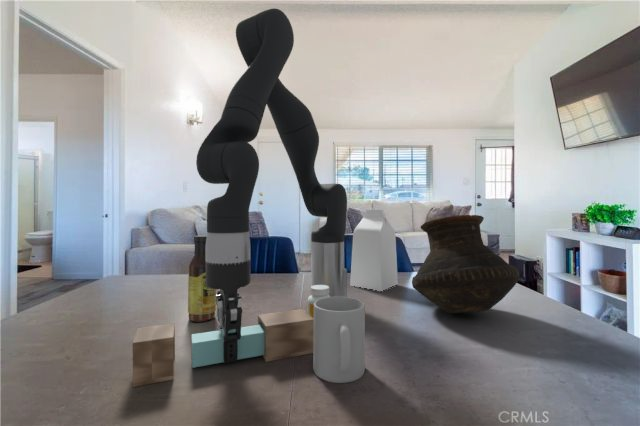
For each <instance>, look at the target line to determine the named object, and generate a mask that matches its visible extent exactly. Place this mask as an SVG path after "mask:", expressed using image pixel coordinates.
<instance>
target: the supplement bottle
mask: <svg viewBox="0 0 640 426" xmlns="http://www.w3.org/2000/svg"><path fill="white" fill-rule="evenodd" d="M311 294H312V295H311ZM328 294H329V286H326V285H314V286H311V285H310V295H309V296H308V298H307V301H306V302H307V303H306V304H307V305H306V309H307V311H306V313H308V314H309V315H310V316H311V317H312V318H313V319H314V303H315V301H317V300H319V299H322V298H326V297H330V296H329V295H328Z"/></svg>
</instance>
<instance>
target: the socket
mask: <svg viewBox="0 0 640 426" xmlns="http://www.w3.org/2000/svg"><path fill="white" fill-rule="evenodd" d="M175 325H176V324H175V323H166V324H159V325H150V326H142V327H138V328H137V331H136V333H135V335H134V338H133V341H132V388H134V387H140V386H146V385H150V384H157V383H161V382H166V381H172V380H174V378H175V364H176V363H175V362H176V357H175V356H176V343H175V342H176V340H175V337H176V334H175V333H176V332H175V331H176V330H175V329H176V327H175Z"/></svg>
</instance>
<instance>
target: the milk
mask: <svg viewBox="0 0 640 426" xmlns="http://www.w3.org/2000/svg"><path fill="white" fill-rule="evenodd" d="M353 230H354V231H352V246H351V247H352V248H351V263H350V265H351V267H350V281H349V283H350V284H349V286H350V287H354V286H355V287H354V288H359V287H361V288H360V289H364V288H367V289H366V290H369V289H373V290H372V291H375V290H377V291H376V292H380V291H382V292H384V291H383V290H385V289H387V288H389V287H392V286H394V285H396V284H398V285H399V283H398V282H399V281H398V280H399V279H398V261H397V259H398V258H397V240H396V239H397V238H396V230H395V227H393V226H392V224H391V223H390V221H389V219H387V217H386V213H385V212H384V209H365V212H364V214H363V217H362V219H361V220H360V222H358V224H357V225H356V226H355V228H354V229H353ZM394 287H395V286H394ZM392 288H393V287H392ZM389 289H390V288H389ZM387 290H388V289H387ZM385 291H386V290H385Z"/></svg>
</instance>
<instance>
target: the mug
mask: <svg viewBox="0 0 640 426" xmlns="http://www.w3.org/2000/svg"><path fill="white" fill-rule="evenodd" d="M365 318H366V306H365V303H364V301H361V300H359V299H358V298H353V297H350V296H349V297H348V296H347V297H326V298H322V299H319V300H317V301H315V303H314V352H313V353H312V354H313V355H312V356H313V359H312V362H313V363H312V364H313V365H312V370H313V373H315V375H316V376H317V377H318V378H319V379H321V380H323V381H325V382H328V383H334V384H335V383H336V384H349V383H353V382H355V381H358V380H359V379H360V378H362V377H363V375H364V373H365V370H366V354H365V353H366V350H365V349H366V333H365V332H366V329H365V328H366V319H365Z"/></svg>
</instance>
